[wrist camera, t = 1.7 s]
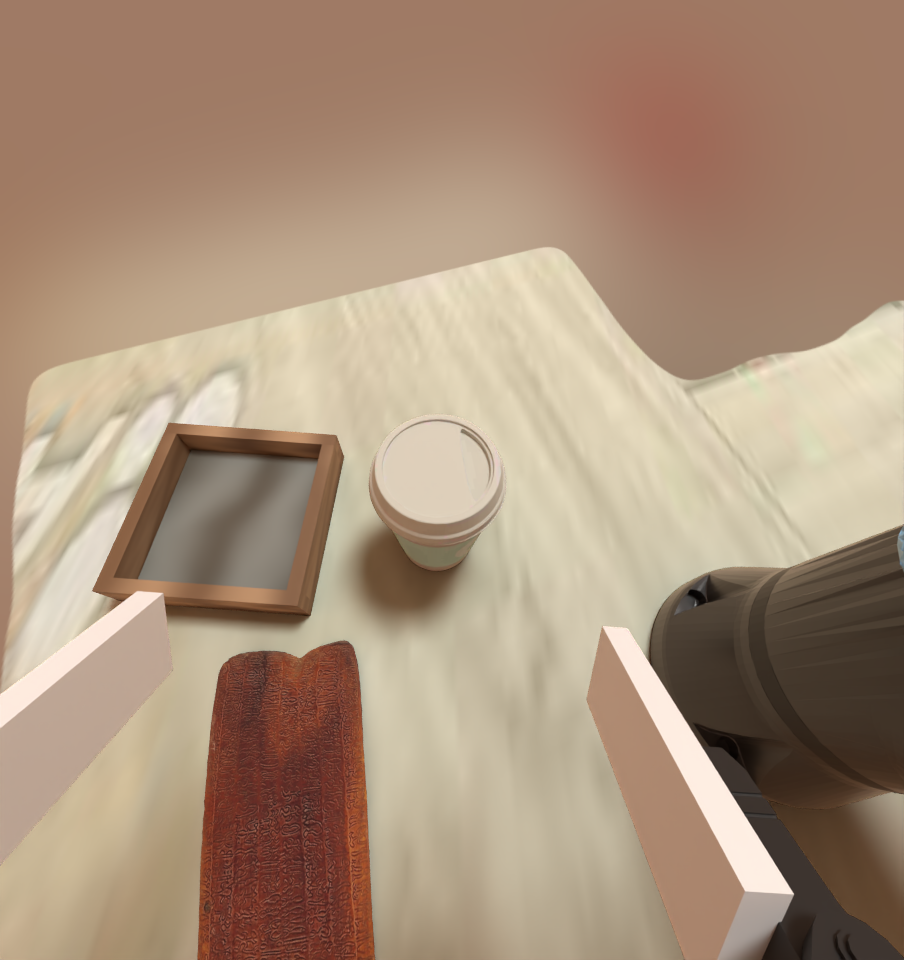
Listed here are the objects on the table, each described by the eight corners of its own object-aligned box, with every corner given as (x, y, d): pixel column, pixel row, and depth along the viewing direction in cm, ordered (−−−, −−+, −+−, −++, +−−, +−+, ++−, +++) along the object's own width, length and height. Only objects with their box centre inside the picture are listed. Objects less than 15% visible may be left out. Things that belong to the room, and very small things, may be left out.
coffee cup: (463, 606, 33) (478, 558, 23) (366, 561, 34) (336, 496, 24) (502, 513, 37) (530, 435, 26) (413, 476, 38) (405, 388, 28)
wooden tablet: (221, 659, 31) (210, 656, 30) (359, 636, 32) (355, 633, 31) (171, 1295, 19) (148, 1345, 18) (395, 1226, 20) (392, 1267, 19)
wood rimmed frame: (343, 456, 39) (336, 435, 36) (310, 615, 32) (297, 605, 29) (189, 445, 39) (168, 422, 36) (124, 602, 32) (92, 591, 29)
